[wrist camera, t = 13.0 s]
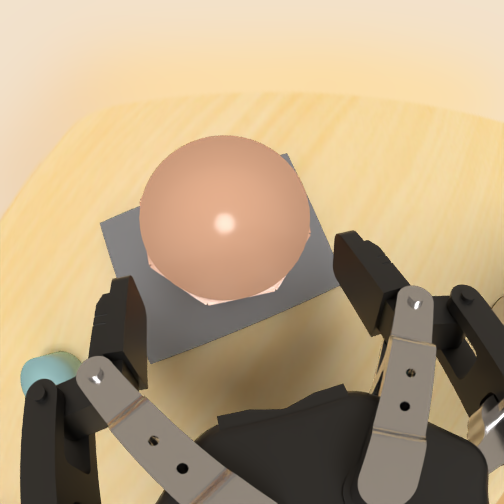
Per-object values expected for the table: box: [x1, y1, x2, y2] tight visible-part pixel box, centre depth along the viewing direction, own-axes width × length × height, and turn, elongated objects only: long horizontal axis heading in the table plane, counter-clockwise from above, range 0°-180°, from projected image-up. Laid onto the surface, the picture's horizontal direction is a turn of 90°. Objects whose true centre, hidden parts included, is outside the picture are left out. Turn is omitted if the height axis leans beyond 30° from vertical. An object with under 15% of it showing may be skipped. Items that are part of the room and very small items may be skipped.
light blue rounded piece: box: [21, 352, 82, 397], centre depth 18 cm, size 4×4×4 cm
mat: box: [100, 153, 340, 364], centre depth 21 cm, size 14×10×1 cm
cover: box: [139, 136, 311, 306], centre depth 16 cm, size 6×6×10 cm
